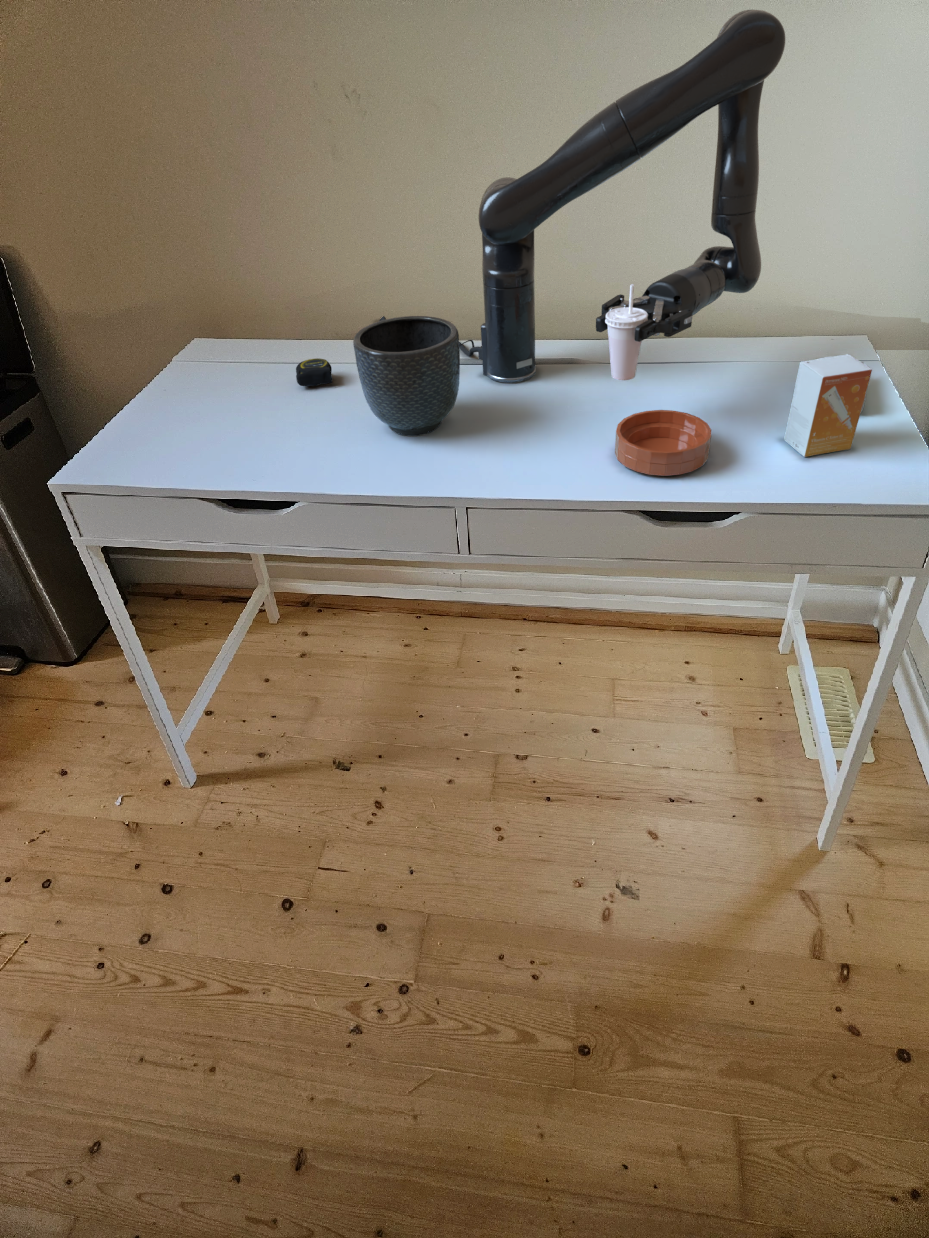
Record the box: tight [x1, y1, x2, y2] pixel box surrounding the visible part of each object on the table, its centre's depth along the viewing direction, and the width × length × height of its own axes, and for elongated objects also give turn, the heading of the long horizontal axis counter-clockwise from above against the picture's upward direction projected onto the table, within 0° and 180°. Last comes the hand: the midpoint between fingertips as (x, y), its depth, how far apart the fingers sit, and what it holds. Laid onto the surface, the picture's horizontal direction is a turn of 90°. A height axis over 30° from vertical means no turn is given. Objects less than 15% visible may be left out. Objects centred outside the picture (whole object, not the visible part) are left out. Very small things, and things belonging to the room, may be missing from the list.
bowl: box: [614, 409, 712, 477], centre depth 126 cm, size 14×14×4 cm
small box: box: [783, 353, 873, 458], centre depth 123 cm, size 8×6×13 cm
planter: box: [352, 315, 461, 437], centre depth 137 cm, size 17×17×16 cm
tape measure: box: [295, 358, 333, 387], centre depth 158 cm, size 7×7×4 cm
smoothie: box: [605, 283, 648, 381], centre depth 124 cm, size 6×6×14 cm
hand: (617, 330), depth 123 cm, fingers closed on smoothie, 6 cm apart
